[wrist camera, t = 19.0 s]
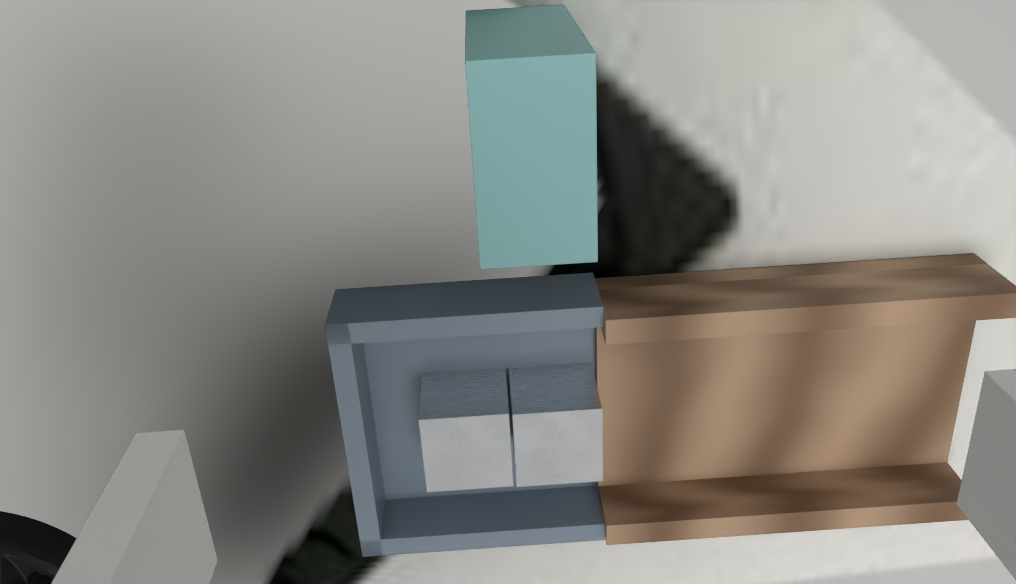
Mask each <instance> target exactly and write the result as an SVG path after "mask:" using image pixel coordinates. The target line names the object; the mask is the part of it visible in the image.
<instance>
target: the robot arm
mask: <svg viewBox="0 0 1016 584" xmlns="http://www.w3.org/2000/svg"><path fill="white" fill-rule="evenodd" d="M957 505H958V506H959V508H960V509H961V510H962V512H963V513H964V514H965V515H966V517H967V518H968V519H969V521H970V522H971V523H972V524H973V526H974V527H975V528H976V530H977V531H978V532H979V533H980V535H981V536H982V537H983V539H984V540H985V541H986V542H987V544H988V545H989V546H990V548H991V549H992V550H993V551H994V553H995V554H996V555H997V557H998V558H999V559H1000V560H1001V562H1002V563H1003V564H1004V566H1005V567H1006V568H1007V569H1008V571H1009V572H1010V573H1011V575H1012V576H1013V577H1014V578H1015V580H1016V369H1011V370H998V371H985V373H984V378H983V382H982V387H981V392H980V397H979V401H978V406H977V411H976V416H975V420H974V425H973V430H972V434H971V439H970V444H969V449H968V453H967V458H966V463H965V467H964V472H963V477H962V482H961V486H960V491H959V496H958V500H957ZM216 563H217V557H216V553H215V549H214V545H213V541H212V538H211V533H210V529H209V525H208V521H207V518H206V514H205V510H204V506H203V502H202V498H201V494H200V490H199V486H198V482H197V478H196V475H195V471H194V467H193V463H192V459H191V455H190V451H189V448H188V443H187V440H186V436H185V432H184V430H173V431H160V432H145V433H136V435H135V436H134V438H133V440H132V442H131V443H130V445H129V447H128V449H127V450H126V452H125V454H124V456H123V458H122V459H121V461H120V463H119V465H118V466H117V468H116V470H115V472H114V473H113V475H112V477H111V479H110V481H109V482H108V484H107V486H106V488H105V489H104V491H103V493H102V495H101V496H100V498H99V500H98V502H97V504H96V505H95V507H94V509H93V511H92V513H91V514H90V516H89V518H88V520H87V521H86V523H85V525H84V527H83V528H82V530H81V532H80V534H79V536H78V537H77V538H75V537H73V536H71V535H70V534H68V533H66V532H64V531H62V530H60V529H58V528H55V527H53V526H51V525H48V524H46V523H43V522H40V521H37V520H35V519H31V518H28V517H25V516H20V515H16V514H12V513H6V512H1V511H0V584H210V581H211V578H212V575H213V572H214V569H215V566H216Z"/></svg>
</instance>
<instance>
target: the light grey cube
mask: <svg viewBox="0 0 1016 584" xmlns="http://www.w3.org/2000/svg"><path fill="white" fill-rule="evenodd" d="M509 382H510V399H511V415H512V432H513V445H514V458H515V471H516V483H517V487H524V486H538V485H553V484H567V483H582V482H596V481H603V422H602V405H601V401H600V397H599V393H598V389H597V385H596V381H595V377H594V372H593V368H592V364H591V363H579V364H564V365H549V366H534V367H519V368H509Z"/></svg>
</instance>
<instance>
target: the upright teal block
mask: <svg viewBox="0 0 1016 584" xmlns="http://www.w3.org/2000/svg"><path fill="white" fill-rule="evenodd" d="M465 65H466V79H467V93H468V106H469V120H470V133H471V147H472V161H473V175H474V188H475V201H476V215H477V229H478V242H479V256H480V269H495V268H508V267H509V268H510V267H525V266H541V265H556V264H572V263H587V262H598V233H597V122H596V52H595V51H594V49H593V48H592V46H591V45H590V43H589V42H588V40H587V39H586V37H585V36H584V34H583V33H582V31H581V30H580V28H579V27H578V25H577V24H576V22H575V21H574V19H573V18H572V16H571V15H570V13H569V12H568V10H567V8H566V7H565V5H551V6H535V7H518V8H502V9H486V10H470V11H466V39H465Z"/></svg>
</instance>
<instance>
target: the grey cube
mask: <svg viewBox="0 0 1016 584" xmlns="http://www.w3.org/2000/svg"><path fill="white" fill-rule="evenodd" d="M419 428H420V436H421V445H422V454H423V462H424V471H425V479H426V488H427V492H437V491H452V490H466V489H481V488H495V487H510V486H513V472H512V456H511V440H510V424H509V409H508V396H507V382H506V369H505V367H504V368H490V369H475V370H460V371H445V372H430V373H423V375H422V386H421V398H420V410H419Z"/></svg>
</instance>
